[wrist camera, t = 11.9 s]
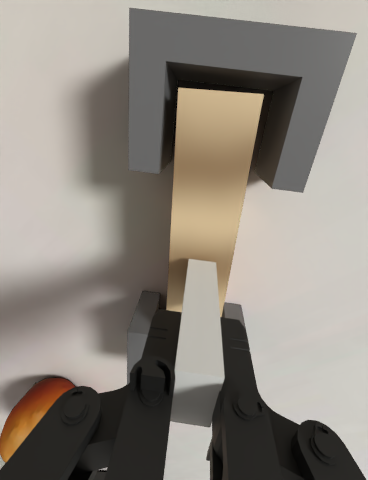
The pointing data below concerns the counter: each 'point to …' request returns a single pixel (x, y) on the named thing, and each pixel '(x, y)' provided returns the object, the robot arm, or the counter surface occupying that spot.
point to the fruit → (30, 413)
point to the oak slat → (209, 182)
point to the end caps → (231, 74)
